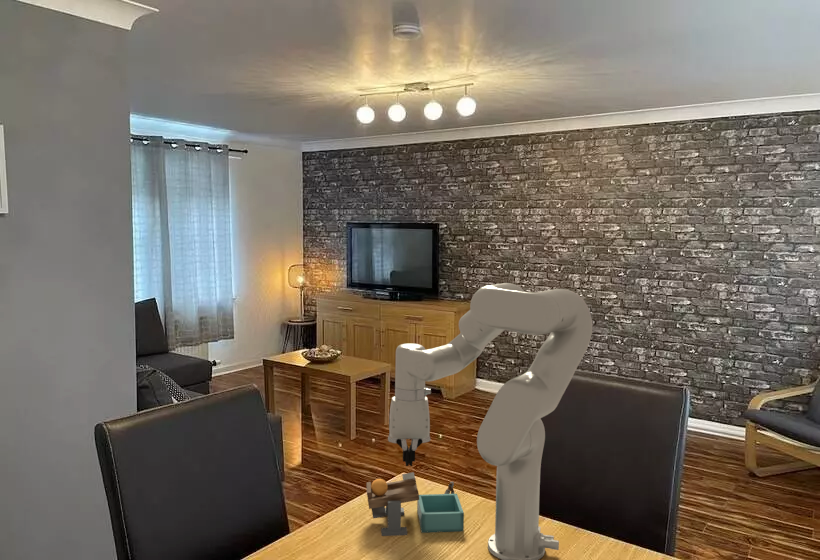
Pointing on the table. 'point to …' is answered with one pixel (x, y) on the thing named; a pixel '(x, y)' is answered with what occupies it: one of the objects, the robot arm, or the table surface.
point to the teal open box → (440, 513)
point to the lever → (393, 494)
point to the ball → (379, 487)
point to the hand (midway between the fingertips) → (408, 463)
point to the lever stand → (394, 520)
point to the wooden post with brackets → (450, 488)
